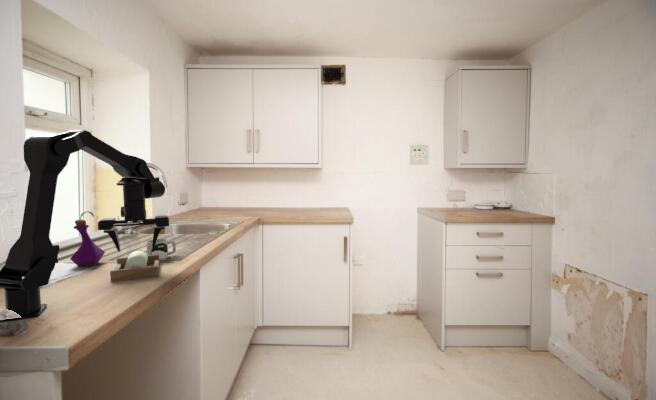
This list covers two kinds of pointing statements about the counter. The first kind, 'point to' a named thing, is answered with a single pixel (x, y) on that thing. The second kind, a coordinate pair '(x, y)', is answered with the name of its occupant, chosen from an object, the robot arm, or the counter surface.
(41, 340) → the counter surface
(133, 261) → the roll
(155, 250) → the mug
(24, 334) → the counter surface
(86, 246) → the perfume bottle
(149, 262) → the holder
